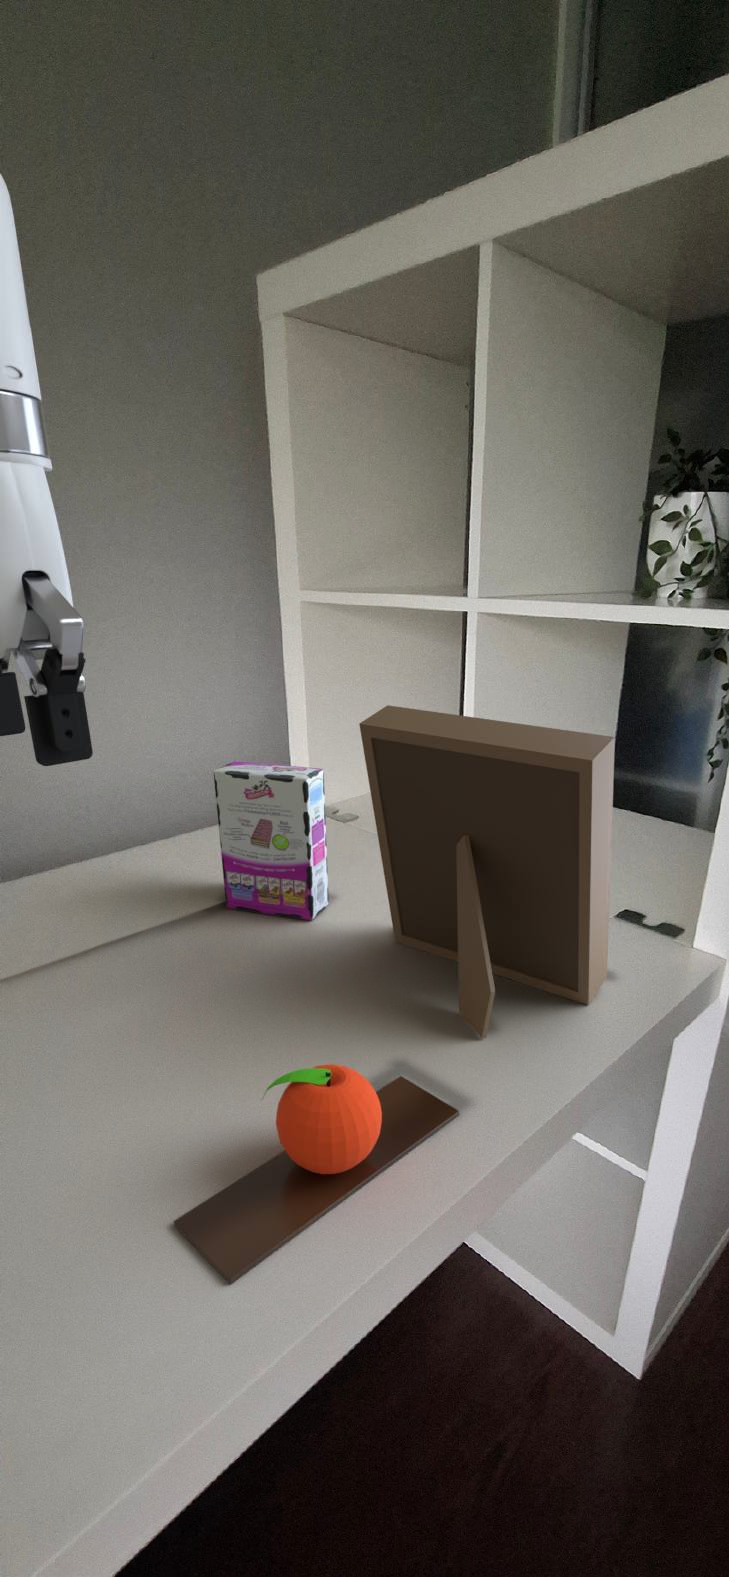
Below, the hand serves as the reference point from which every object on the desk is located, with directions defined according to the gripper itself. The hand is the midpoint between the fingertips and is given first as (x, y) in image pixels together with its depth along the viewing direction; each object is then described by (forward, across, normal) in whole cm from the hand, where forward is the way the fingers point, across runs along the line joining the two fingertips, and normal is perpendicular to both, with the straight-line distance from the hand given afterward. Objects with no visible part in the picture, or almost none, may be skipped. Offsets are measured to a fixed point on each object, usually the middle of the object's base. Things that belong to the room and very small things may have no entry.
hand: (31, 747), depth 49 cm
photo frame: (+26, +11, +32) cm, 43 cm away
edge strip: (+26, +20, +7) cm, 33 cm away
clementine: (+26, +19, +7) cm, 33 cm away
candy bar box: (+26, -16, +30) cm, 43 cm away
